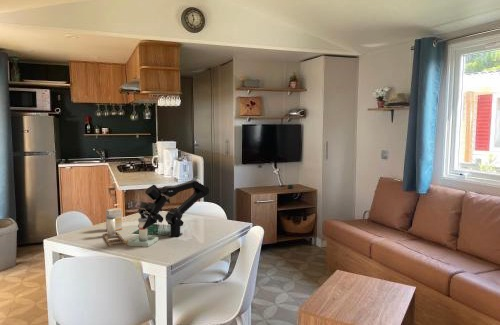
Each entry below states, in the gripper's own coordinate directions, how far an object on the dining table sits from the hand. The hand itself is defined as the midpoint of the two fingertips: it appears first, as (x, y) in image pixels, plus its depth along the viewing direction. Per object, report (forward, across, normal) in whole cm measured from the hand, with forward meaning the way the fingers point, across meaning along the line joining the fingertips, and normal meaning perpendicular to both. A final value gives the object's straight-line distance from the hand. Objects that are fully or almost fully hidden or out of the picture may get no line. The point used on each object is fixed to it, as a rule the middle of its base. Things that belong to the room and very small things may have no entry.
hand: (140, 227), depth 209 cm
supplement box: (+4, -37, +9) cm, 39 cm away
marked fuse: (+4, 0, +6) cm, 7 cm away
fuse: (+9, -25, +3) cm, 27 cm away
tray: (+5, 0, +7) cm, 9 cm away
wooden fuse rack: (+10, -17, +2) cm, 20 cm away
